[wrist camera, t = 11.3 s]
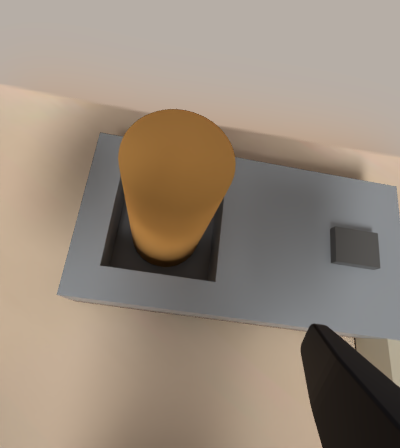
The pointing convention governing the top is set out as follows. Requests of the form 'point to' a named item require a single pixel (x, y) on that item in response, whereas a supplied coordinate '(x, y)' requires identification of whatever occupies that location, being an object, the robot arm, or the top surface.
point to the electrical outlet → (382, 355)
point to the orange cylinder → (173, 182)
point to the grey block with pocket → (251, 252)
